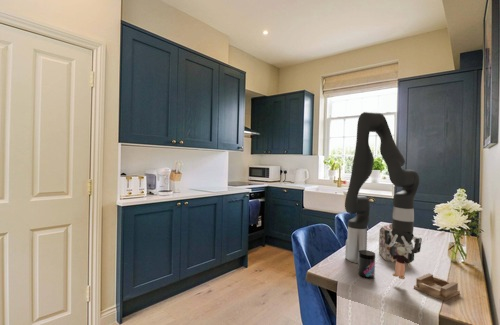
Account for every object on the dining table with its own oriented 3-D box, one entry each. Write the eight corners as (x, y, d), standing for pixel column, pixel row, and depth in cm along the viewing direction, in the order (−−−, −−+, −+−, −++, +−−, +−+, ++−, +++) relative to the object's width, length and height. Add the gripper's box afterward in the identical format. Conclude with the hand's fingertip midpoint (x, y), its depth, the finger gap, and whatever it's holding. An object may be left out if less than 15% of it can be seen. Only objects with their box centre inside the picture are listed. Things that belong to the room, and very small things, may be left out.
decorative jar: (409, 263, 132) (410, 227, 132) (384, 260, 134) (385, 226, 134) (401, 254, 144) (402, 222, 143) (378, 252, 146) (379, 220, 146)
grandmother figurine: (388, 275, 109) (389, 245, 108) (391, 272, 111) (392, 243, 111) (409, 282, 103) (410, 250, 103) (412, 279, 106) (413, 248, 106)
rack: (413, 288, 105) (414, 278, 105) (428, 281, 112) (429, 272, 111) (445, 301, 96) (445, 290, 96) (459, 293, 102) (460, 283, 102)
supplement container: (359, 278, 113) (360, 254, 113) (356, 272, 120) (357, 249, 120) (376, 280, 112) (377, 256, 112) (372, 273, 118) (373, 250, 118)
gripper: (380, 215, 111) (379, 254, 111) (416, 223, 98) (415, 267, 99) (391, 213, 115) (389, 251, 115) (426, 221, 102) (425, 263, 103)
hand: (401, 258), depth 107 cm, fingers closed on grandmother figurine, 6 cm apart
